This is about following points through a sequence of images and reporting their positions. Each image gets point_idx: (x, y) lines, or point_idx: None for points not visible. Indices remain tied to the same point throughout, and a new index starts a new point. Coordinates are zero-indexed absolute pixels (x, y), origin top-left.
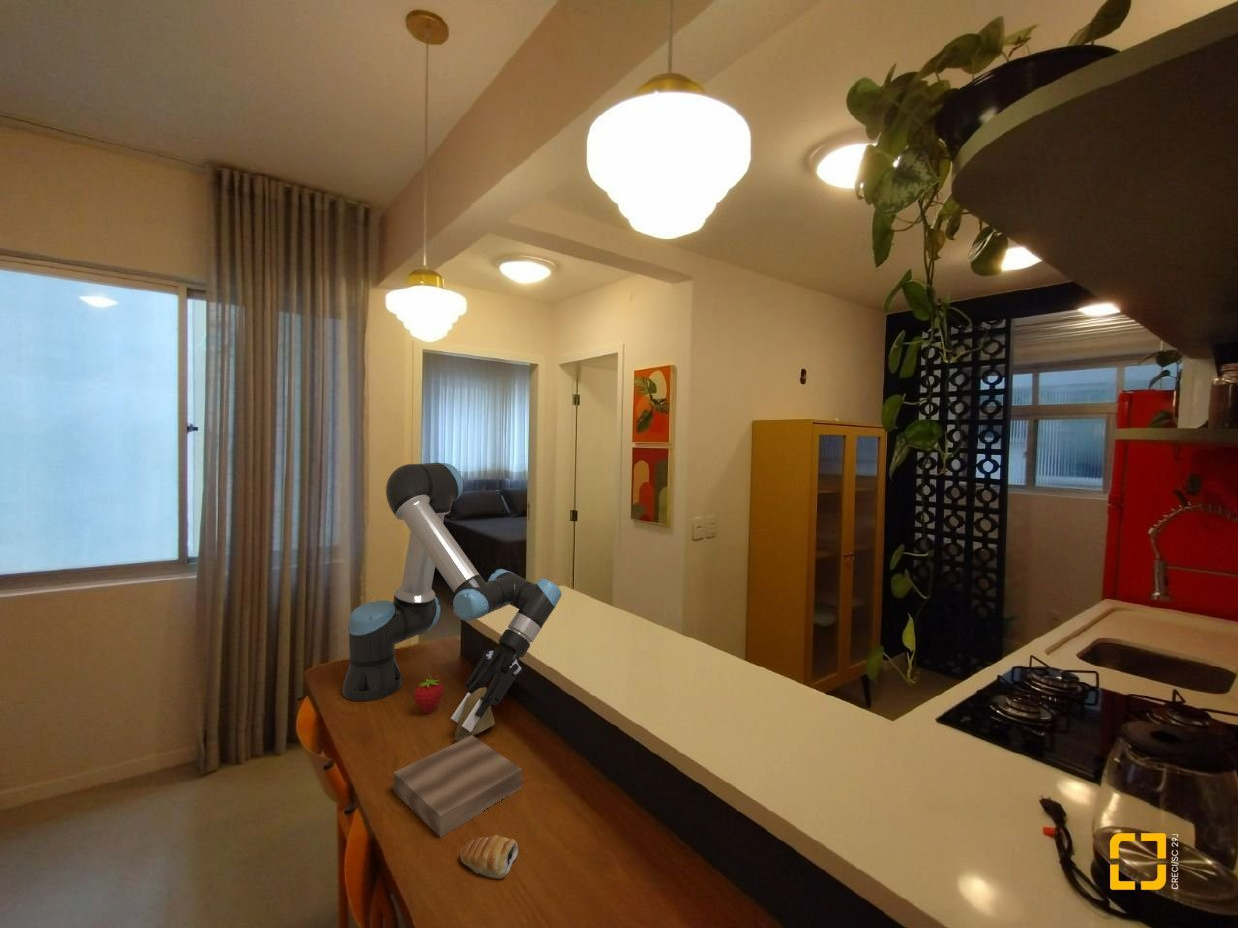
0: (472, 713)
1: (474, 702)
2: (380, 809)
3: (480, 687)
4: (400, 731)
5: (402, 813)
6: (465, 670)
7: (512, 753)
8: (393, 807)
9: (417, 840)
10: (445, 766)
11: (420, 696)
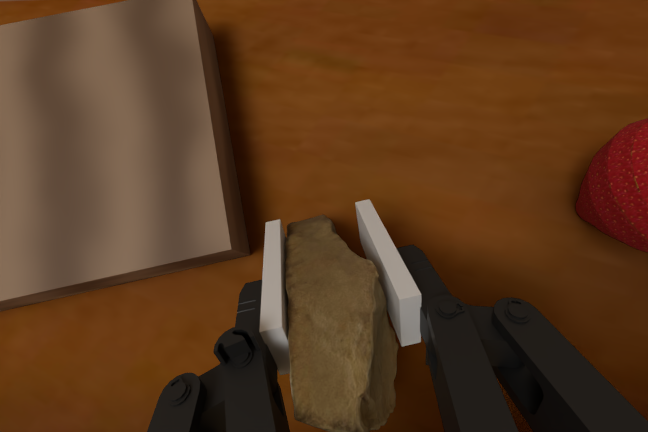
0: (264, 265)
1: (307, 296)
2: None
3: (438, 403)
4: (497, 105)
5: None
6: None
7: (158, 371)
8: None
9: None
10: (112, 111)
11: (630, 132)
